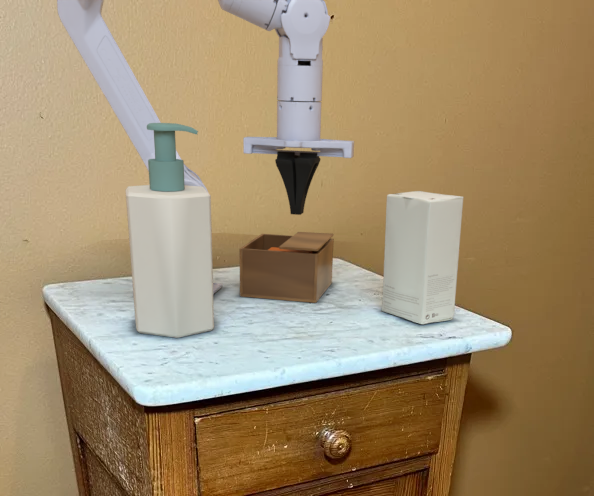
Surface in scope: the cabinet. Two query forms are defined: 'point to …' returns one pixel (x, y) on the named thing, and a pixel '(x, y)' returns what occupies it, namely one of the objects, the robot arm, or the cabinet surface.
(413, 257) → the cosmetic box
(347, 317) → the cabinet surface
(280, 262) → the carton
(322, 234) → the flap
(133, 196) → the soap bottle
